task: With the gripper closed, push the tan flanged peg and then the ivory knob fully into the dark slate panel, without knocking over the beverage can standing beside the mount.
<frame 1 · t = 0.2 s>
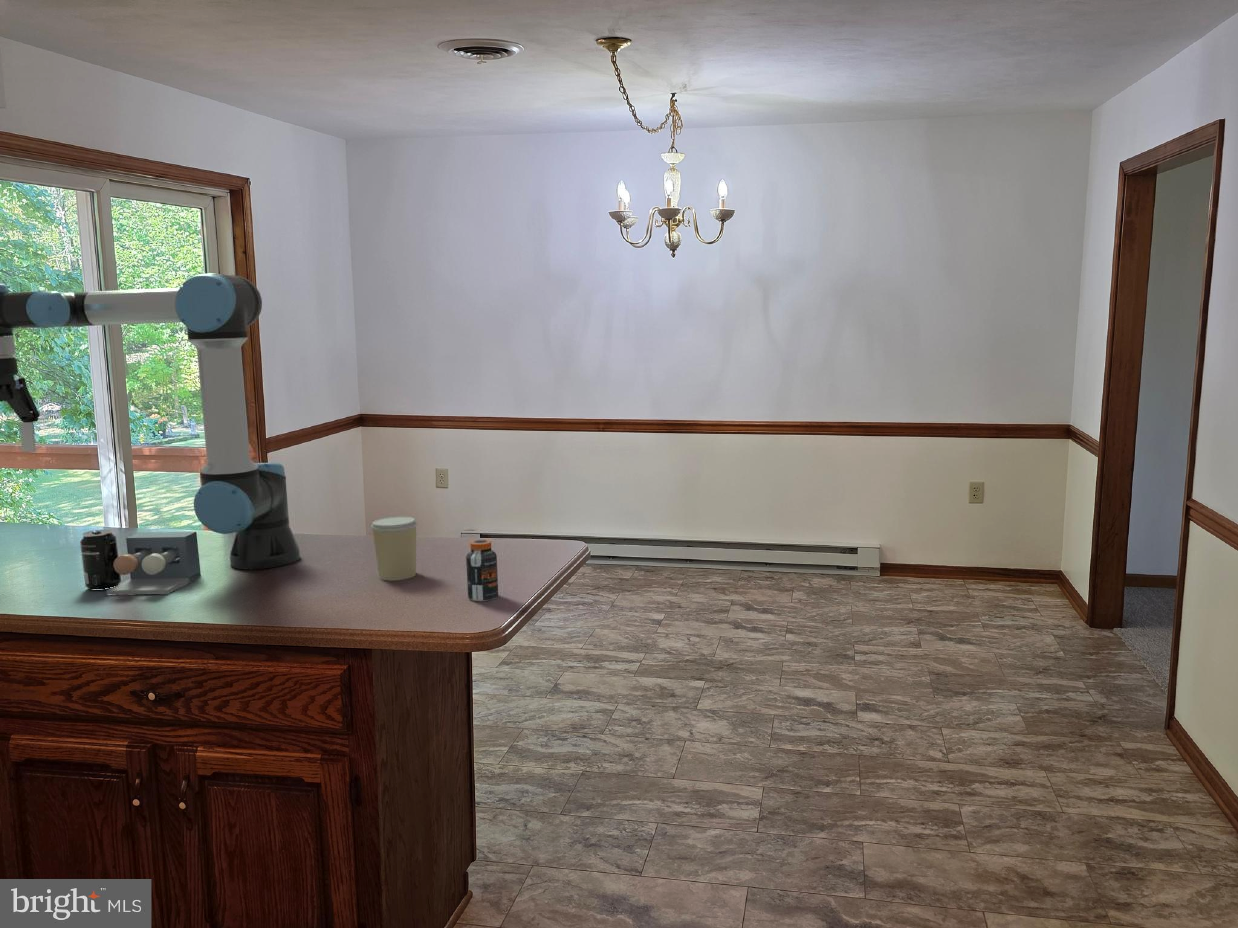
hand: (8, 456, 212), 28 cm above the table, fingers open, 13 cm apart
coffee cup: (397, 576, 210), on the table
pill bottle: (483, 598, 192), on the table
mount: (166, 579, 213), on the table
knob ivory: (167, 557, 208), point 6 cm above the table, slide at 0.0 cm
beverage can: (104, 588, 209), on the table
tan flanged peg: (140, 557, 208), point 6 cm above the table, slide at 0.0 cm
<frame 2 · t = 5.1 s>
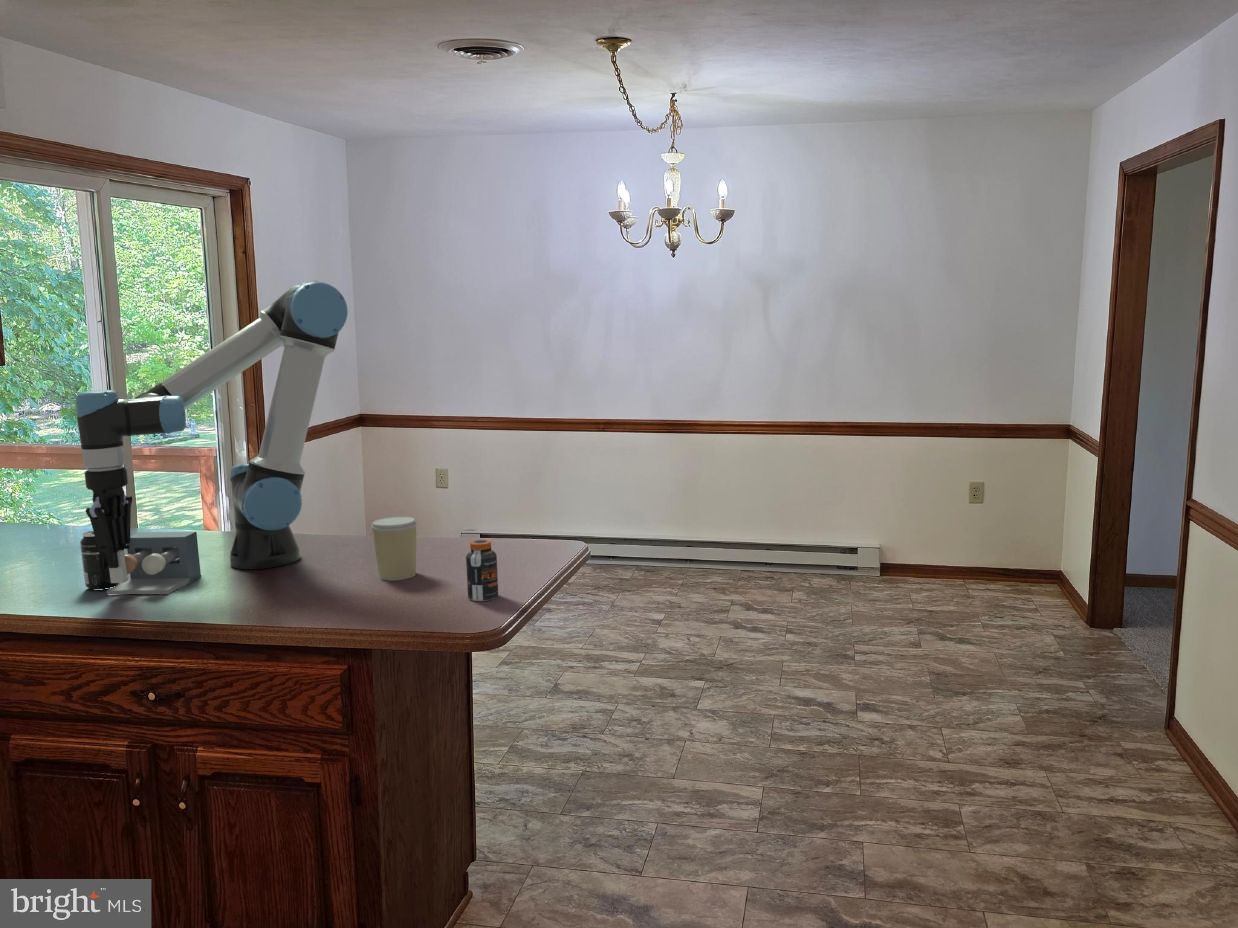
hand: (119, 581, 200), 3 cm above the table, fingers closed
tan flanged peg: (140, 557, 208), point 6 cm above the table, slide at 0.0 cm, touching gripper
everything else where it was.
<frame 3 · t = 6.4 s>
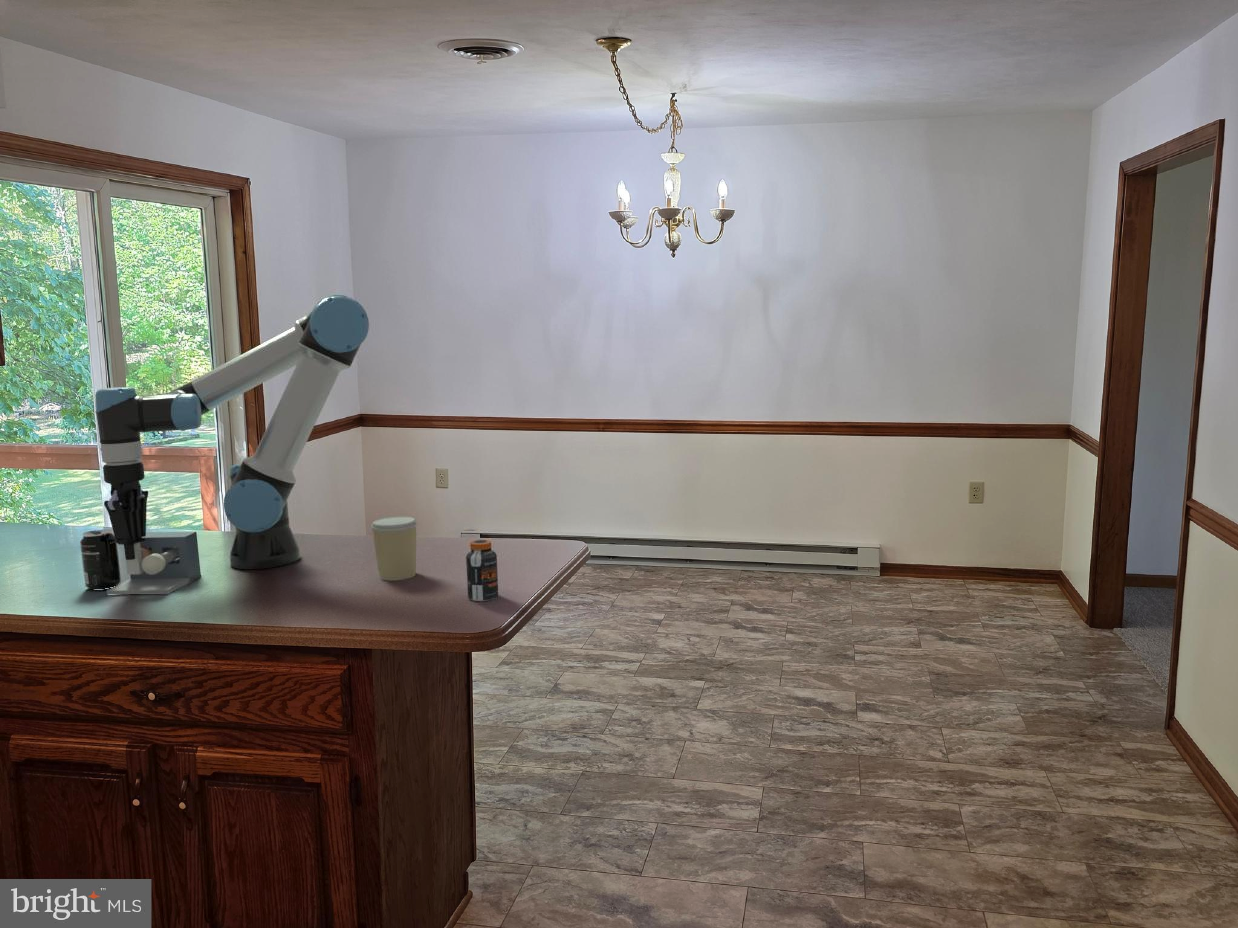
hand: (135, 573, 206), 3 cm above the table, fingers closed
tan flanged peg: (154, 550, 214), point 6 cm above the table, slide at 5.9 cm, touching gripper
everything else where it was.
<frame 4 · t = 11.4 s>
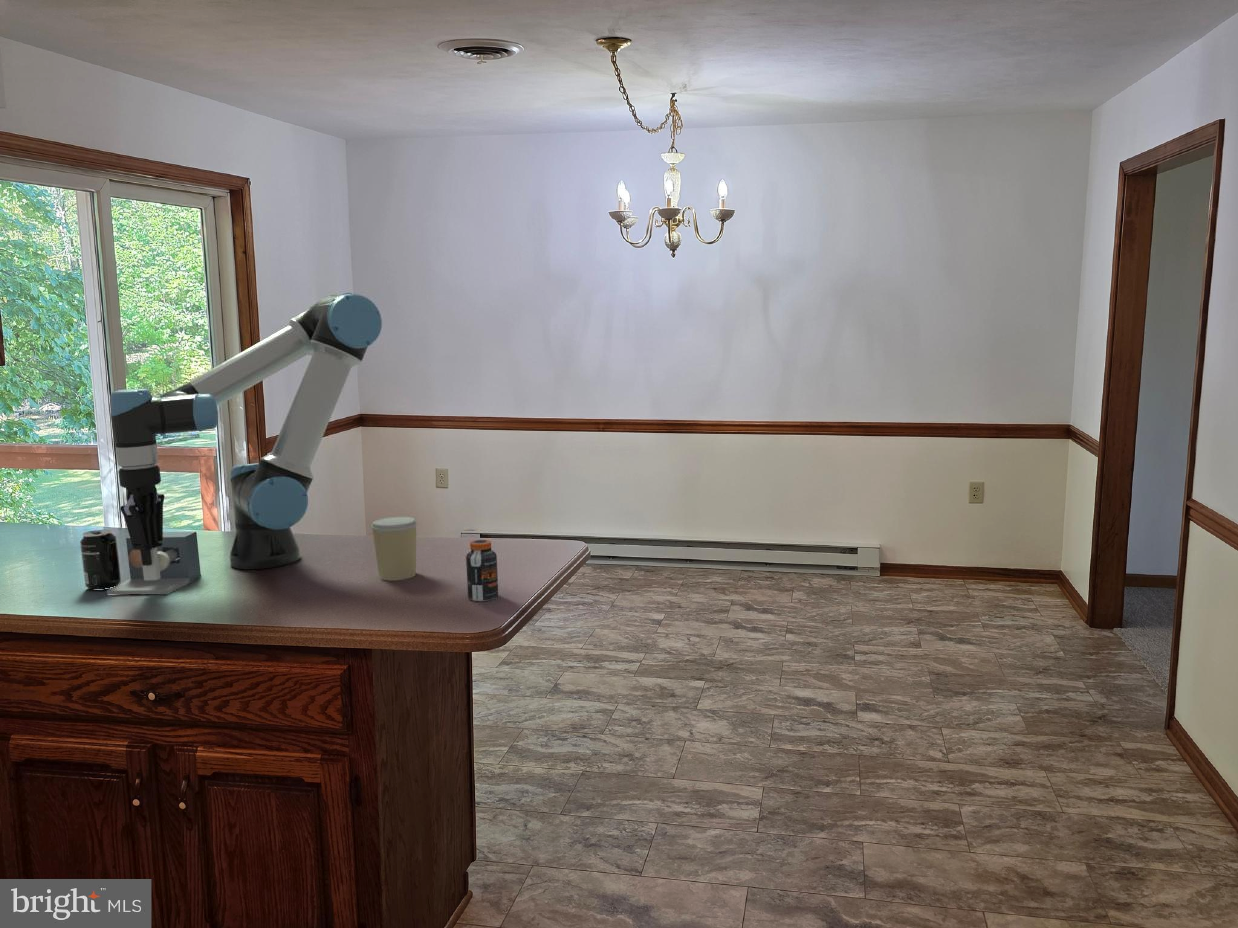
hand: (152, 579, 201), 3 cm above the table, fingers closed
knob ivory: (171, 555, 210), point 6 cm above the table, slide at 1.7 cm, touching gripper
tan flanged peg: (154, 550, 214), point 6 cm above the table, slide at 5.7 cm
everything else where it was.
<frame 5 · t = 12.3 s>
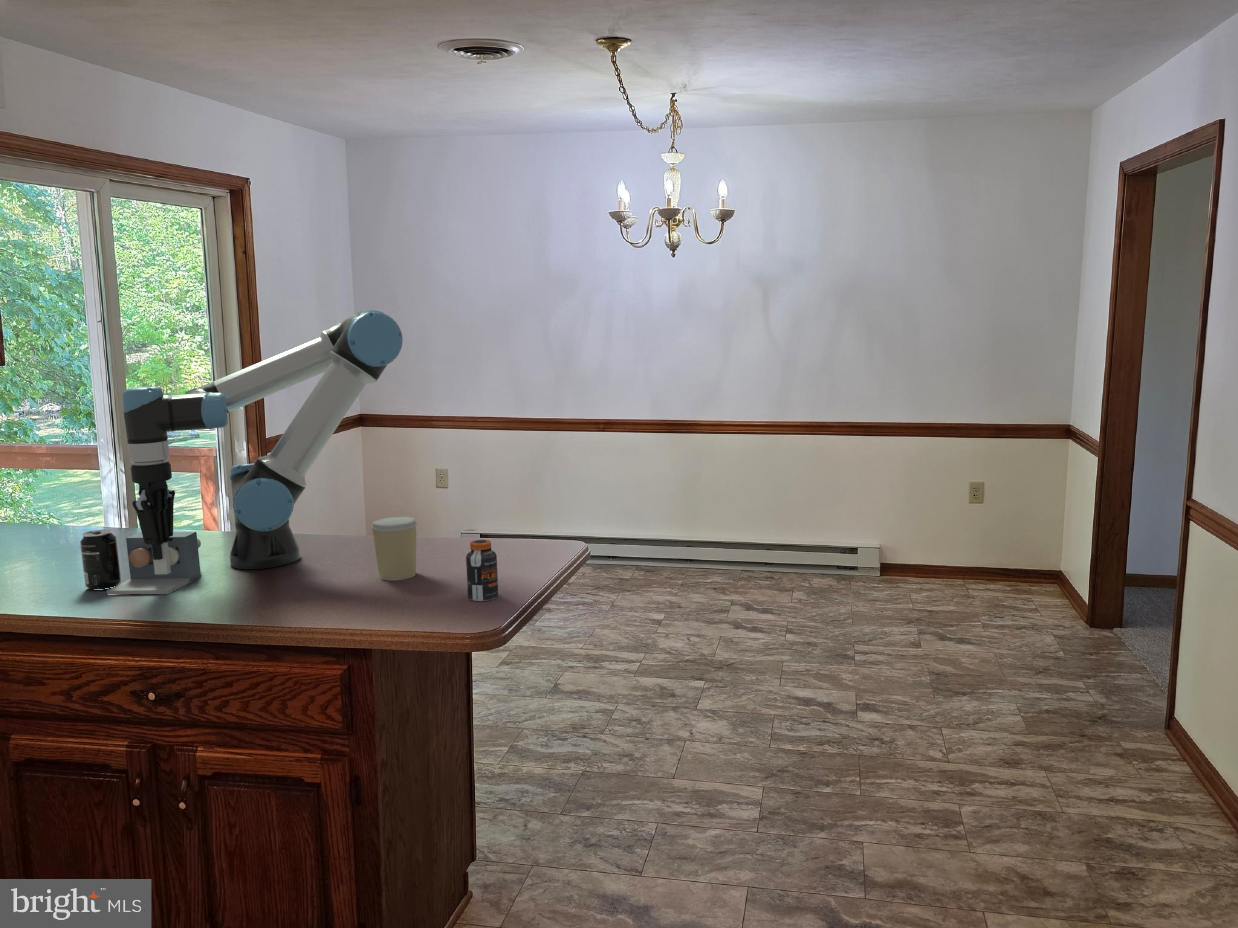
hand: (163, 573, 206), 3 cm above the table, fingers closed
knob ivory: (181, 550, 214), point 6 cm above the table, slide at 5.9 cm, touching gripper
everything else where it was.
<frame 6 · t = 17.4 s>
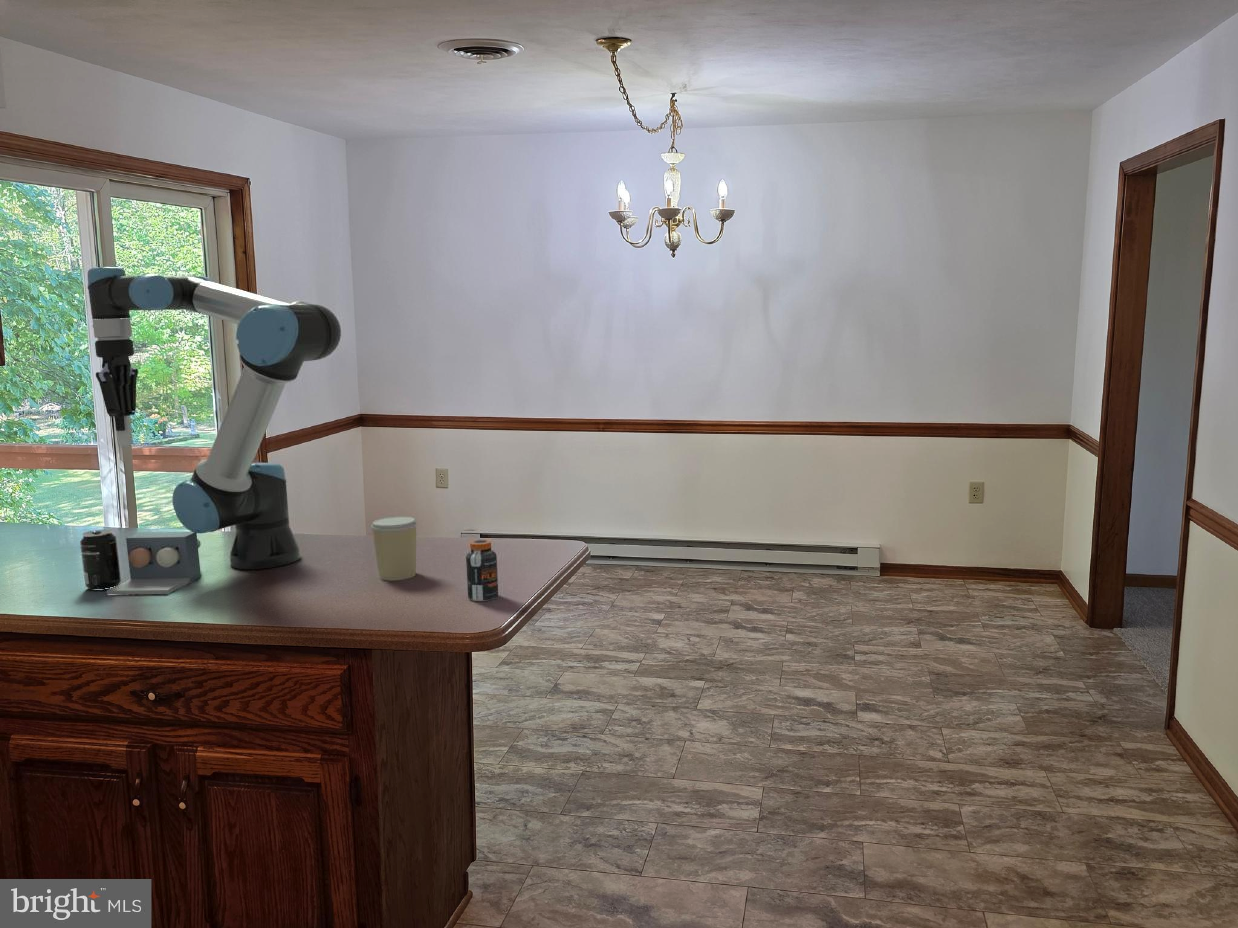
hand: (125, 444, 220), 28 cm above the table, fingers closed
knob ivory: (180, 550, 214), point 6 cm above the table, slide at 5.7 cm
everything else where it was.
at the end: tan flanged peg slide at 5.7 cm; knob ivory slide at 5.7 cm; beverage can tilted 0° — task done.
